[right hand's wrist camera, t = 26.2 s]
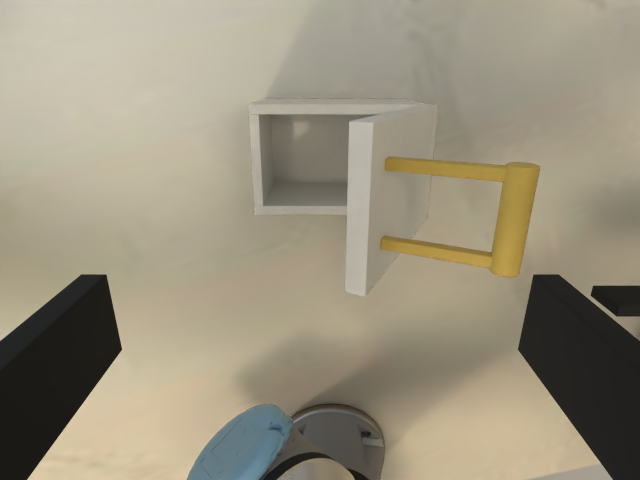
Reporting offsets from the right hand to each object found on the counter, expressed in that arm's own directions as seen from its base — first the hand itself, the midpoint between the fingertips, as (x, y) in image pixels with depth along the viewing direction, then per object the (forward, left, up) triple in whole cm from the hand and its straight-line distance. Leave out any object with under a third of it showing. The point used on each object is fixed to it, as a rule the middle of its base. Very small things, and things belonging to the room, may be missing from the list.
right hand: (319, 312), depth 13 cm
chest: (+1, -1, -34) cm, 34 cm away
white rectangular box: (+3, -4, -17) cm, 18 cm away
